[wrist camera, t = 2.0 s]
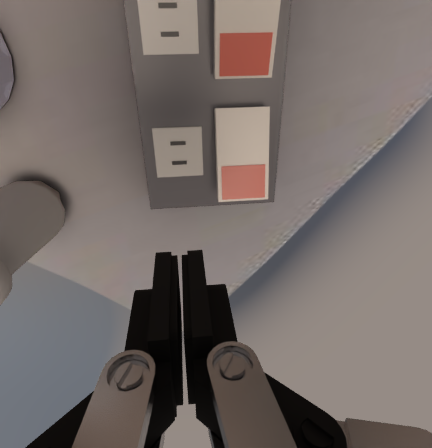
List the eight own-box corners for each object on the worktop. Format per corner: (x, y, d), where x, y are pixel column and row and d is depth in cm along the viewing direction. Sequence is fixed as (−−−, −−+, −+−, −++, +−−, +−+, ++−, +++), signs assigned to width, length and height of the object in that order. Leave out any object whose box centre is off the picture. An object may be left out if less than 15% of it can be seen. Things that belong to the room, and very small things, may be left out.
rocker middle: (213, -55, 18) (216, -54, 18) (282, -55, 19) (287, -54, 18) (213, 74, 23) (215, 79, 22) (268, 72, 24) (271, 78, 23)
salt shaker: (-2, 213, 30) (-106, 317, 19) (12, 160, 28) (-97, 244, 17) (62, 235, 32) (1, 342, 21) (80, 188, 30) (22, 280, 19)
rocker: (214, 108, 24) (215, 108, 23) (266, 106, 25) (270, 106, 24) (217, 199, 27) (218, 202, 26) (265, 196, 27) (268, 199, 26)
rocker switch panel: (92, -298, 17) (71, -375, 14) (299, -284, 18) (326, -354, 14) (153, 194, 31) (150, 213, 28) (266, 188, 32) (275, 205, 29)
